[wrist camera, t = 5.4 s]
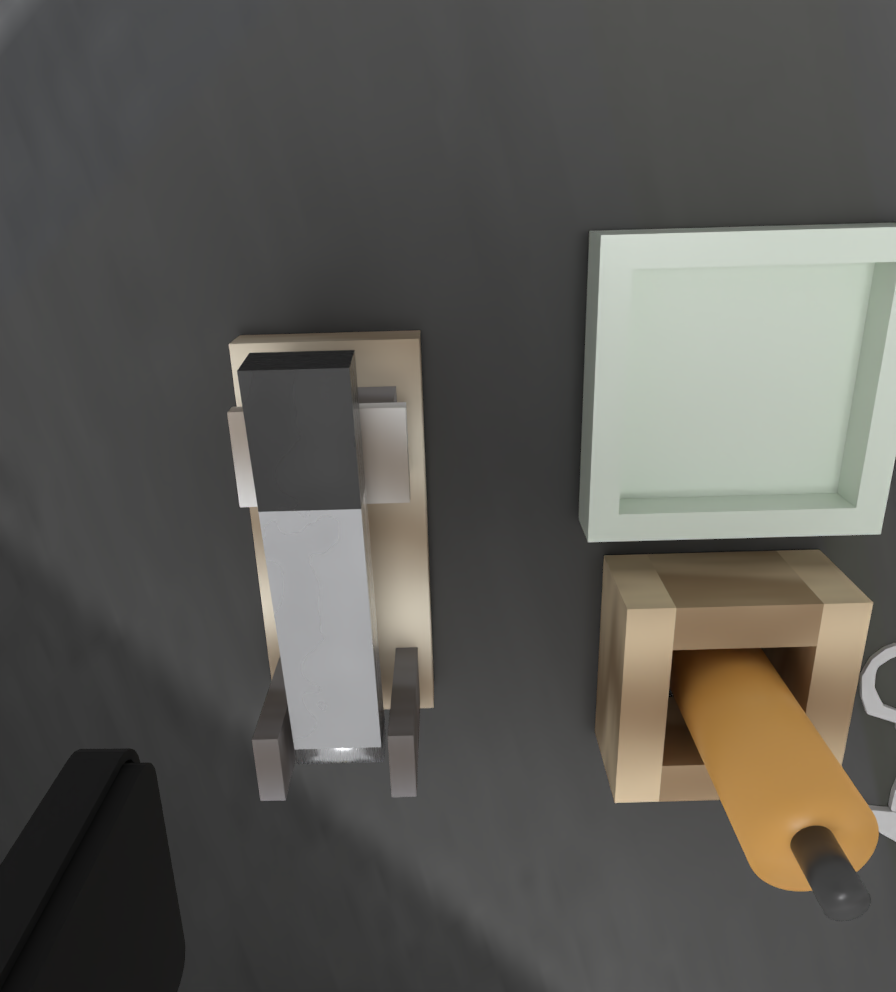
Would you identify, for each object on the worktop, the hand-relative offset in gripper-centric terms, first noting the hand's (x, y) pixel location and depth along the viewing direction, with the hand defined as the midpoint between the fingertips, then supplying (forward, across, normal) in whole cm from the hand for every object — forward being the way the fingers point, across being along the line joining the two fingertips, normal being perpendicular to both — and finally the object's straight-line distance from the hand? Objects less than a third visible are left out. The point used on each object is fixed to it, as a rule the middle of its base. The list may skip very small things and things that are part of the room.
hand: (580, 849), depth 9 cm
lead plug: (+20, -8, +10) cm, 24 cm away
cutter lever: (+15, +5, +4) cm, 17 cm away
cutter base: (+20, +5, +5) cm, 21 cm away
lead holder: (+20, -8, +10) cm, 24 cm away
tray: (+20, -8, 0) cm, 22 cm away
